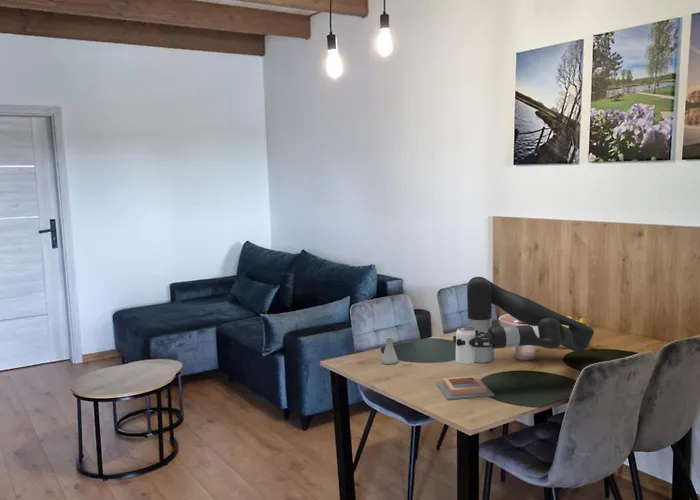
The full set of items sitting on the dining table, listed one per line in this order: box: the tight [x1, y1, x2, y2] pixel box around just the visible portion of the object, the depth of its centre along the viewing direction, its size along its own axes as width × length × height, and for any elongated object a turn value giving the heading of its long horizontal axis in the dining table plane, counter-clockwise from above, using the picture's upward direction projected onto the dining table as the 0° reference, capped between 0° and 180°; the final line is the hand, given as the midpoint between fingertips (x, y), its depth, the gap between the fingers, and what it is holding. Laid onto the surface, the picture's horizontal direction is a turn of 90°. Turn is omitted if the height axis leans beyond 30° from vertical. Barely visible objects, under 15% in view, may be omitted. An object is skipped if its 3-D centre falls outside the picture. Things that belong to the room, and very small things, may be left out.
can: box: [455, 325, 475, 365], centre depth 209 cm, size 6×6×12 cm
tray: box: [435, 375, 495, 401], centre depth 210 cm, size 16×16×3 cm
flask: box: [380, 336, 400, 365], centre depth 245 cm, size 7×7×10 cm
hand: (455, 340), depth 208 cm, fingers closed on can, 3 cm apart
